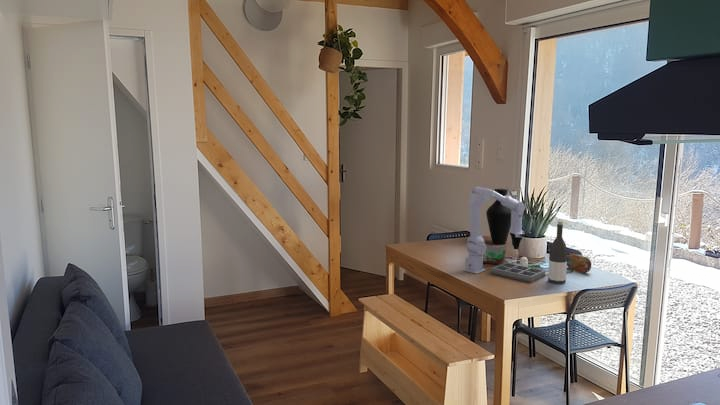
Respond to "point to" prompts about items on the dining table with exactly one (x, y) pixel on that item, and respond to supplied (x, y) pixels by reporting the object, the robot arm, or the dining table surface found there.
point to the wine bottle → (558, 258)
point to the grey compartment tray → (518, 272)
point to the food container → (495, 254)
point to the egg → (524, 261)
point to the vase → (499, 220)
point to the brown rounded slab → (578, 263)
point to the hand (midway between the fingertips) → (515, 247)
